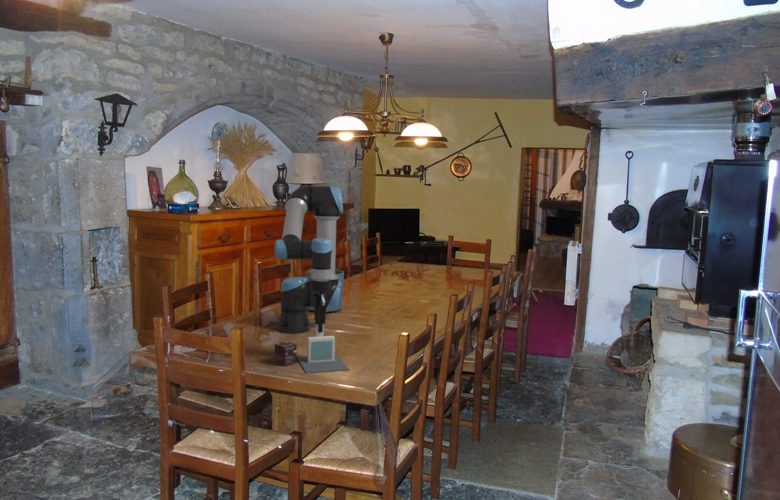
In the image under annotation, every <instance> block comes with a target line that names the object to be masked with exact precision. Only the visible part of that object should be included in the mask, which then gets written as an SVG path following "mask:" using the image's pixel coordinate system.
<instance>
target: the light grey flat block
mask: <svg viewBox="0 0 780 500" xmlns="http://www.w3.org/2000/svg"><path fill="white" fill-rule="evenodd" d="M306 343H307V344H306V345H307V346H306V348H307V349H306V353H307V354H306V357H307V361H308V362H324V361H335V355H336V354H335V353H336V337H335V336H334V335H323V336H319V337H316V336H307V342H306Z"/></svg>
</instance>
